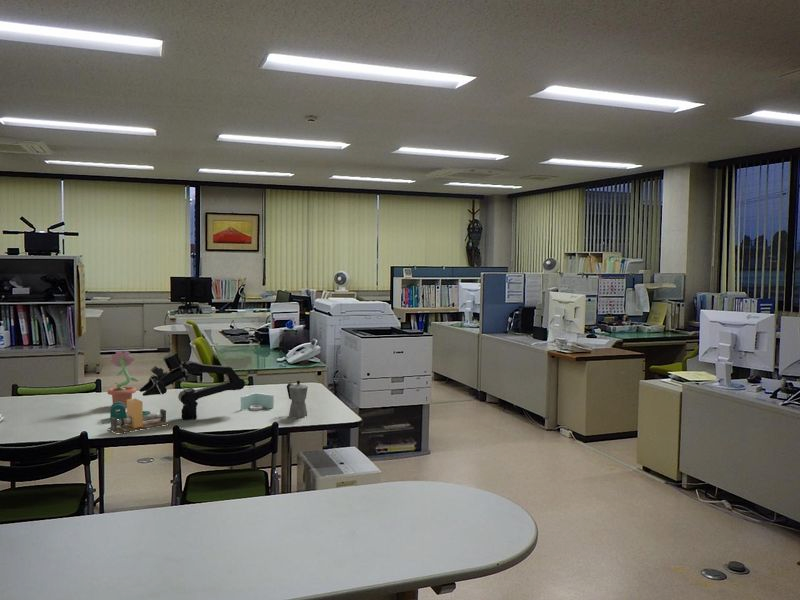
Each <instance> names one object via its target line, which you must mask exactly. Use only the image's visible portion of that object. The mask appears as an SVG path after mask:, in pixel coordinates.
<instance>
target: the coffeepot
mask: <svg viewBox="0 0 800 600" xmlns="http://www.w3.org/2000/svg"><path fill="white" fill-rule="evenodd" d="M286 391H287V395H288V399H289V400H291V403H290V406H289V407H290V408H289V413H288V415H289V417H290V418H293V417H296V418H295V419H300V417H302V418H306V417H308V410H307V404H306V398H307V394H308V385H305V384H301V381H300V380H297V381H296V384H294V383H291V382H290V383H287V385H286ZM305 416H306V417H305Z"/></svg>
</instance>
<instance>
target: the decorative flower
mask: <svg viewBox="0 0 800 600" xmlns="http://www.w3.org/2000/svg"><path fill="white" fill-rule="evenodd" d="M129 355H131V352H130V351H126V350H125V351H123V350H117V351H116V352H115V354H114V353H113V354H111V357H110V359H111V360H110V363H111V364H112V365H113V366H115V367H118V368H121V370H120V371H118V372H117V375H116V376H120V375H122V374H124V375H125V376H124V377H125V378H126V381H123V382H120V383H118V382H117V383H115V382H114V384H115V385H116V386H115V387H110V388H109V389H108V390H107V394H108V395H109V396H110V395H111V398H112V399H111V401H112V404H113V403H115V402H122V403H123V404H124V405H125V407H126V408H127V400H129V399H133V394H135V393H137V388H136V387H135V386H127V385H128V384H129V383H131V382H132V381H133V382H139V380H138V379H137V378H134V377H131V376H130V374H129V372H128V370H127V366H130V365H131V363H132V362H134V360H135V357H133V356H132V357H130V356H129Z"/></svg>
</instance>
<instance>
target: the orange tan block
mask: <svg viewBox="0 0 800 600" xmlns="http://www.w3.org/2000/svg"><path fill="white" fill-rule="evenodd" d="M143 405H144V404H143V401H142V400H139V399H137V398H132V399H129V400H127V407H126V412H127V418H130V417H132V423H131V424H126V425H129V426H131V427H133V428H138V427H143V422H144V421H143V411H144V410H143Z"/></svg>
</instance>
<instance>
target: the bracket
mask: <svg viewBox="0 0 800 600" xmlns="http://www.w3.org/2000/svg"><path fill="white" fill-rule="evenodd" d="M109 413H110V415H109V417H110V419H109V420H111V418H112V417H114V418H116V419H121V418H123V419H124V418H127V407H126V408H125V405H124V404H123V403H122V402H115V403H113V402H112V404H111V406H110V411H109ZM148 414H151V411H150V410H143V415H148Z"/></svg>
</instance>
